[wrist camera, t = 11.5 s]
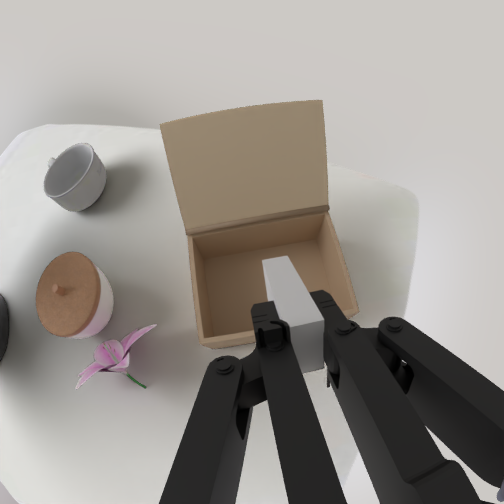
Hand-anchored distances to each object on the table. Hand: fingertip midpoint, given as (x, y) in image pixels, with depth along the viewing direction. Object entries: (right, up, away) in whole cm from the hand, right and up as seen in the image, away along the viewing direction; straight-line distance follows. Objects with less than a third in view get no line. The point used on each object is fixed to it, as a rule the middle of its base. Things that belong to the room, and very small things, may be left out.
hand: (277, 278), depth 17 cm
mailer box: (+1, -3, +18) cm, 19 cm away
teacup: (-32, +13, +27) cm, 44 cm away
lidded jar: (-24, -6, +18) cm, 31 cm away
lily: (-17, -12, +15) cm, 26 cm away
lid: (-2, +10, +10) cm, 14 cm away
